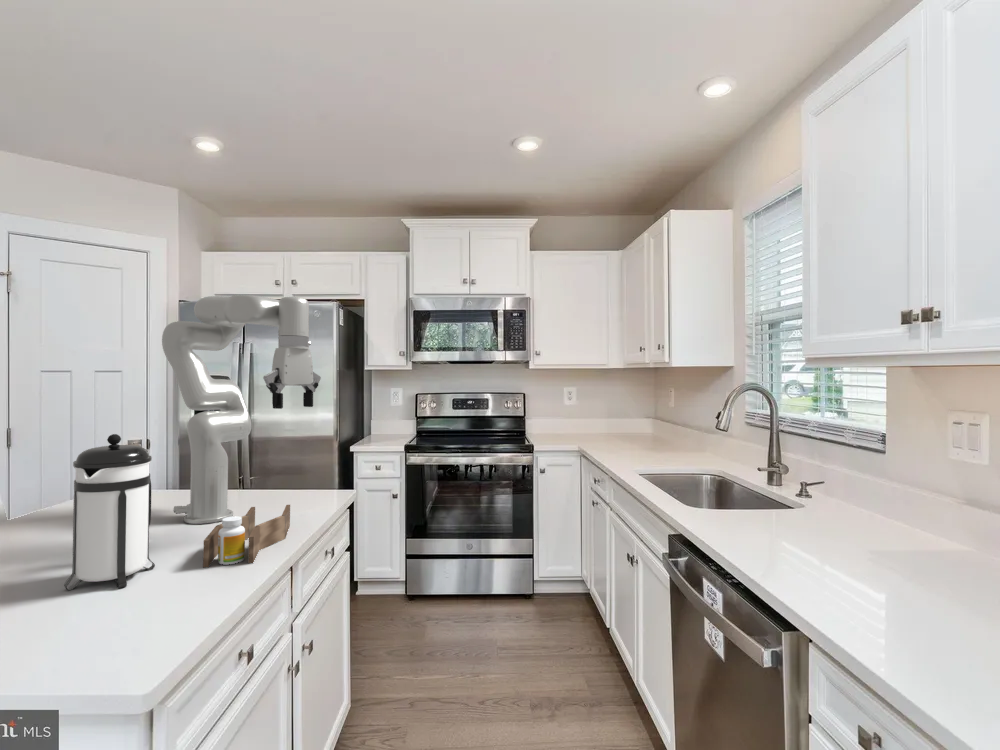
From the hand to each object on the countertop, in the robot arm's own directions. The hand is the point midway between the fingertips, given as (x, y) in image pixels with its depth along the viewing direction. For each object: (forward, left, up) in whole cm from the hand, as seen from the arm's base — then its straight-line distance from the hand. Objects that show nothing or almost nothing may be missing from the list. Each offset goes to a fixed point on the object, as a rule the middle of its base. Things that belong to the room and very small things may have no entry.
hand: (293, 407), depth 132 cm
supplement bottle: (-11, -16, -34) cm, 40 cm away
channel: (-9, -5, -34) cm, 36 cm away
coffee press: (-33, -19, -34) cm, 51 cm away
